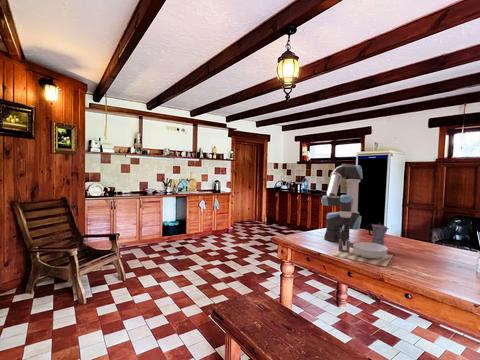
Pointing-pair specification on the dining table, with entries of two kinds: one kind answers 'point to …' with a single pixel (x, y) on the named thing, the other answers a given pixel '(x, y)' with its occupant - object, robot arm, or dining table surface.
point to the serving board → (354, 256)
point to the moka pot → (378, 233)
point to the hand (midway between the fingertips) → (345, 249)
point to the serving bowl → (370, 250)
